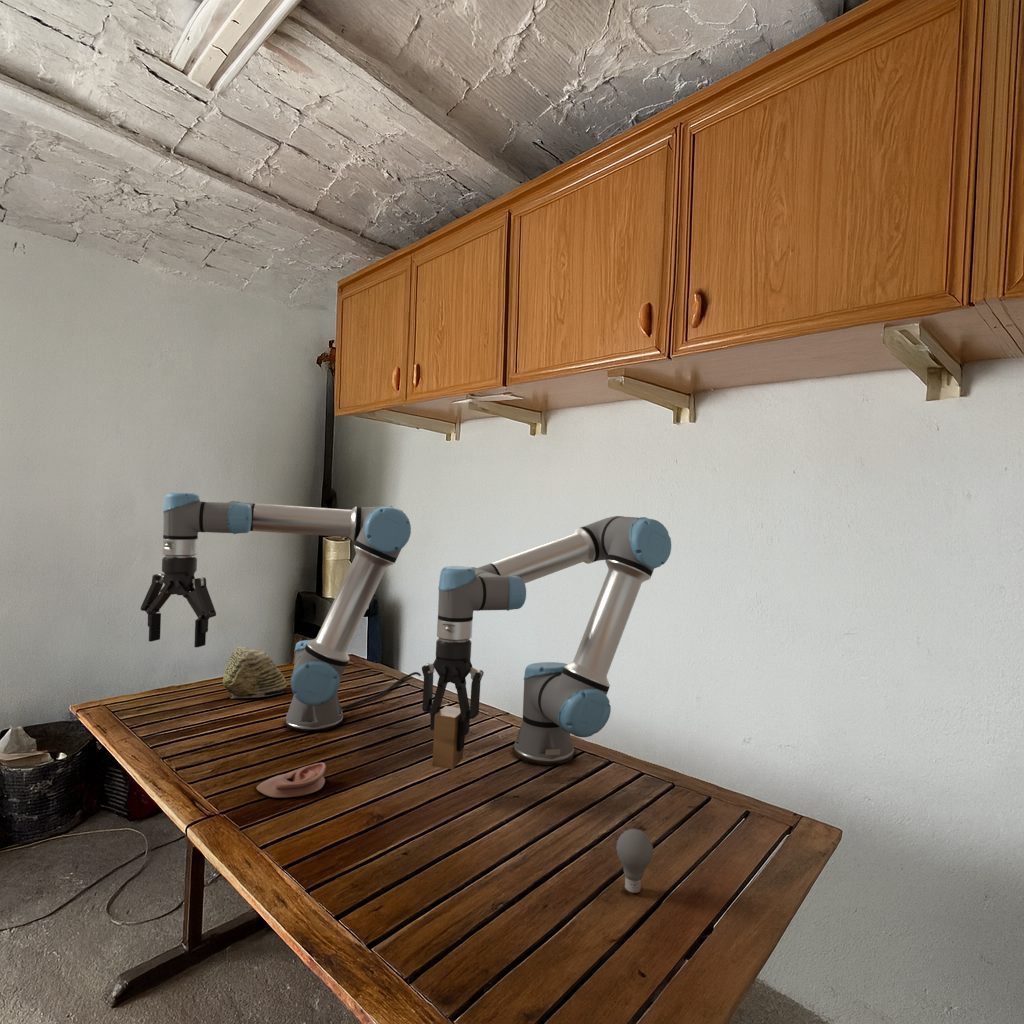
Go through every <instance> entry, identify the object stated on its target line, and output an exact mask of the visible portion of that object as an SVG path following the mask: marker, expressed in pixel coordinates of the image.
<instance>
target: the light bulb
mask: <svg viewBox="0 0 1024 1024" xmlns="http://www.w3.org/2000/svg"><path fill="white" fill-rule="evenodd" d="M615 849H616V854H617V857H618V859H619V861H620V863H621V865H622V867H623V873H624V874H623V875H624V876H625V878H624V888H625V890H627V891H628V892H630V893H634V894H635V893H639V892H640V891H641V889H642V887H641V886H642V879H643V877H644V875H645V871H646V868H647V867H648V866H649V864H650V863H651V861H652V859H653V855H654V847H653V843H652V841H651V838H649V836H648V835H647V834H646V833H645V832H643V831H642V830H641V829H636V828H629V829H627V830H625V831H623V832H622V833H621V834H620V835H619V837H618V839H617V841H616V847H615Z"/></svg>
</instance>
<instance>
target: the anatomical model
mask: <svg viewBox="0 0 1024 1024" xmlns="http://www.w3.org/2000/svg"><path fill="white" fill-rule="evenodd" d="M326 768H327V765H326V763H325V762H316V763H313V764H309V765H306V766H302V767H300V768H297V769H294V770H292V771H289V772H286V773H282V774H278V775H275V776H273V777H270V778H267V779H265V780H264V781H262V782H261V783H259V784H258V785H256V790H257V792H259V793H261V794H263V795H264V796H267V797H270V798H275V799H278V798H293V797H294V798H295V797H300V796H301V797H302V796H306V795H309V794H312V793H315V792H318V791H320V790H321V789H322V788H323V787H324V785H325V783H326V778H325V777H324V775H325V772H326V770H327V769H326Z"/></svg>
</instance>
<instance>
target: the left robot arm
mask: <svg viewBox="0 0 1024 1024" xmlns="http://www.w3.org/2000/svg"><path fill="white" fill-rule="evenodd" d="M162 513H163V528H162V529H163V533H162V555H163V557H162V559H161V572H162V573H155V574H153V575H152V576H151V577H152V578H151V584H150V586H149V588H148V590H147V592H146V595H145V597H144V599H143V601H142V604H141V606H140V610H141V612H146V615H147V627H148V642H156V641H159V640H161V625H162V624H161V622H162V613H161V608H162V607H163V606H164V605H165V604H166V602H167V601H168V600H169V599H170V597H171V596H172V595H176V596H182V597H183V598H185V600H186V601H187V602H188V604H189V606H190V608H191V609H192V611H193V612H194V614H195V615H196V617H197V619H195V620H194V644H193V645H194V648H200V647H203V646H206V642H207V641H206V640H207V638H206V637H207V633H208V631H209V619H212V618H214V617H216V616H217V612H216V609H215V606H214V603H213V600H212V598H211V595H210V593H209V590H208V586H207V578H206V577H197V578H196V577H195V574H196V572H197V570H198V558H197V555H198V544H199V543H198V542H199V541H198V538H199V533H215V534H233V535H239V534H248V533H249V532H259V533H260V532H261V533H263V532H264V533H279V534H292V535H293V534H295V535H308V536H309V535H311V536H327V537H341V538H349V539H351V541H353V542H354V545H353V548H354V551H355V555H354V558H353V560H352V562H351V564H350V565H349V568H348V570H347V572H346V574H345V577H344V579H343V581H342V582H341V585H340V587H339V589H338V591H337V594H336V595H335V598H334V599H333V602H332V604H331V606H330V608H329V610H328V612H327V614H326V617H325V619H324V621H323V623H322V625H321V627H320V629H319V631H318V633H317V636H316V637H315V638H313V639H306V640H305V639H304V640H299V641H298V642H296V643H295V648H294V650H293V651H294V666H293V669H292V674H291V676H290V688H291V692H292V694H293V695H292V696H293V697H292V699H291V702H290V704H289V706H288V711H287V713H286V715H285V726H286V728H287V729H289V730H291V731H294V732H295V731H296V732H301V733H316V732H325V731H329V730H332V729H335V728H337V727H339V726H340V725H342V723H343V722H344V714H343V710H344V709H349V708H350V707H353V706H356V705H359V704H362V703H364V702H367V701H370V700H373V699H376V698H378V697H381V696H383V695H384V694H386V693H388V692H389V691H391V690H392V689H394V687H395V686H397V685H399V683H401V682H403V681H404V680H405V679H409V678H410V677H412V676H414V675H415V676H419V677H421V676H422V674H421V673H420V672H419V671H414V672H411V673H409V674H407V675H405V676H403V677H400V678H399V679H398V680H397V681H396V682H395V681H394V683H393V684H392V685H391V686H389V687H388V688H386V689H385V690H383V691H380V692H379V693H377V694H374V695H371V696H368V697H365V698H362V699H359V700H357V701H353V702H351V703H348V704H345V705H341V702H340V699H339V695H338V691H339V689H340V685H341V679H342V677H343V675H344V672H345V670H346V668H347V666H348V663H349V662H350V656H349V654H348V650H349V648H350V646H351V643H352V641H353V639H354V637H355V635H356V633H357V630H358V629H359V627H360V625H361V622H362V620H363V618H364V616H365V614H366V612H367V609H368V608H369V605H370V604H371V601H372V599H373V597H374V595H375V593H376V591H377V589H378V586H379V584H380V582H381V580H382V578H383V577H384V574H385V572H386V569H387V568H388V567H390V566H393V565H395V564H396V561H397V560H398V557H399V556H400V554H401V551H402V549H403V548H404V547H405V546H406V545H407V544H408V542H409V540H410V538H411V533H412V527H411V526H412V525H411V521H410V519H409V517H408V516H407V514H406V513H405V512H404V511H403V509H401V508H400V509H399V508H398V507H396V506H393V505H377V506H354V507H352V509H342V508H330V507H329V508H328V507H316V506H315V507H312V506H300V505H299V506H298V505H283V504H271V503H256V502H255V503H254V502H253V503H252V502H242V501H233V500H232V501H228V502H227V501H226V502H223V501H222V502H219V501H217V502H215V501H214V502H213V501H212V502H211V501H208V502H207V501H201V499H200V495H199V494H198V493H189V492H168V493H167V494H166V495H165V497H164V504H163V511H162Z"/></svg>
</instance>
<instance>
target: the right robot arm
mask: <svg viewBox="0 0 1024 1024" xmlns="http://www.w3.org/2000/svg"><path fill="white" fill-rule="evenodd" d="M671 552H672V538H671V536H670V535H669V531H668V529H667V527H665V525H664V524H663V523H662V522H661V521H659V520H656V519H653V518H649V517H646V516H644V517H643V516H642V517H641V516H640V517H635V516H624V515H623V516H622V515H615V516H609V517H605V518H603V519H600V520H597V521H595V522H592V523H589V524H586V525H583V526H581V527H578V528H576V529H575V530H574V531H573V534H570V535H567V536H565V537H561V538H558V539H555V540H553V541H550V542H547V543H545V544H542V545H539V546H536V547H533V548H529V549H528V550H525V551H522V552H519V553H516V554H513V555H510V556H508V557H505V558H502V559H498V560H497V561H494V562H491V563H488V564H484V565H482V566H479V567H475V566H461V565H460V566H459V565H449V566H444V567H442V569H441V570H440V574H439V582H438V602H437V603H438V604H437V605H438V607H437V621H436V622H437V624H436V637H437V640H436V641H435V642H436V643H435V660H434V661H433V663H429V662H428V663H426V664H424V665H422V666H421V671H422V676H423V686H422V687H423V688H422V706H421V707H422V711H423V712H425V713H428V714H429V715H430V722H429V723H430V724H429V727H430V728H429V729H430V731H434V722H435V714H436V713H438V712H439V711H440V710H441V706H442V703H443V699H444V696H445V694H446V693H445V692H446V689H447V687H448V686H447V685H448V684H449V683H451V684H454V687H455V690H456V693H457V700H458V707H459V708H460V712H461V718H460V719H459V720H458V731H457V751H461V750H462V749H463V750H464V748H465V741H466V739H465V737H466V736H467V735H468V734H469V732H470V726H471V725H470V723H471V719H472V720H474V719H475V718H476V717H478V715H479V713H480V699H481V698H480V697H481V681H482V678H483V676H484V673H485V672H484V670H482V669H479V670H478V669H476V668H475V667H473V664H472V662H471V659H472V641H471V639H472V638H473V620H474V611H475V612H476V611H477V612H479V611H507V612H509V611H513V610H520V609H522V607H523V606H524V605H525V603H526V599H527V586H526V584H527V583H530V582H533V581H535V580H538V579H541V578H544V577H546V576H549V575H552V574H554V573H557V572H559V571H562V570H565V569H568V568H570V567H573V566H576V565H578V564H582V563H585V564H588V565H590V564H593V563H595V562H598V561H604V562H605V564H606V567H607V572H606V576H605V577H604V581H603V583H602V585H601V589H600V591H599V594H598V596H597V599H596V602H595V604H594V607H593V609H592V612H591V614H590V617H589V619H588V622H587V624H586V627H585V630H584V632H583V635H582V637H581V640H580V643H579V645H578V648H577V650H576V653H575V655H574V658H573V661H572V662H570V663H564V662H556V661H555V662H554V661H553V662H552V661H544V662H543V661H542V662H534V663H530V664H528V665H527V666H526V667H525V669H524V676H523V697H522V698H523V701H522V720H521V721H522V722H521V725H520V728H519V730H518V732H517V736H516V737H515V738H516V739H515V741H514V743H513V745H514V746H513V753H514V755H515V756H516V757H517V758H518V759H520V760H521V761H524V762H526V763H529V764H533V765H540V766H556V765H557V766H558V765H563V764H565V763H568V762H570V761H572V760H573V759H574V756H575V746H574V744H573V740H572V736H575V737H577V738H588V737H592V736H593V735H595V734H598V733H599V732H600V731H601V730H602V729H603V728H605V726H606V724H607V723H608V721H609V719H610V716H611V712H612V707H611V705H610V702H611V701H610V699H609V697H608V692H609V690H610V687H611V685H610V682H609V680H608V674H609V671H610V669H611V666H612V664H613V661H614V658H615V656H616V653H617V651H618V648H619V645H620V641H621V639H622V637H623V634H624V632H625V629H626V626H627V623H628V621H629V618H630V615H631V613H632V610H633V608H634V606H635V603H636V600H637V597H638V594H639V591H640V589H641V586H642V584H643V583H645V582H646V581H649V580H650V579H651V577H652V575H653V573H654V571H655V569H658V568H660V567H661V566H662V565H665V563H667V562H668V560H669V558H670V556H671ZM435 672H436V673H437V675H438V680H437V684H436V685H437V686H436V689H435V694H434V697H433V692H434V673H435ZM469 674H470V679H471V684H470V685H471V686H470V688H471V689H470V702H469V697H468V691H467V680H466V678H467V677H468V675H469ZM571 735H572V736H571ZM432 740H433V741H432V743H433V742H434V737H433V739H432Z"/></svg>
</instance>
